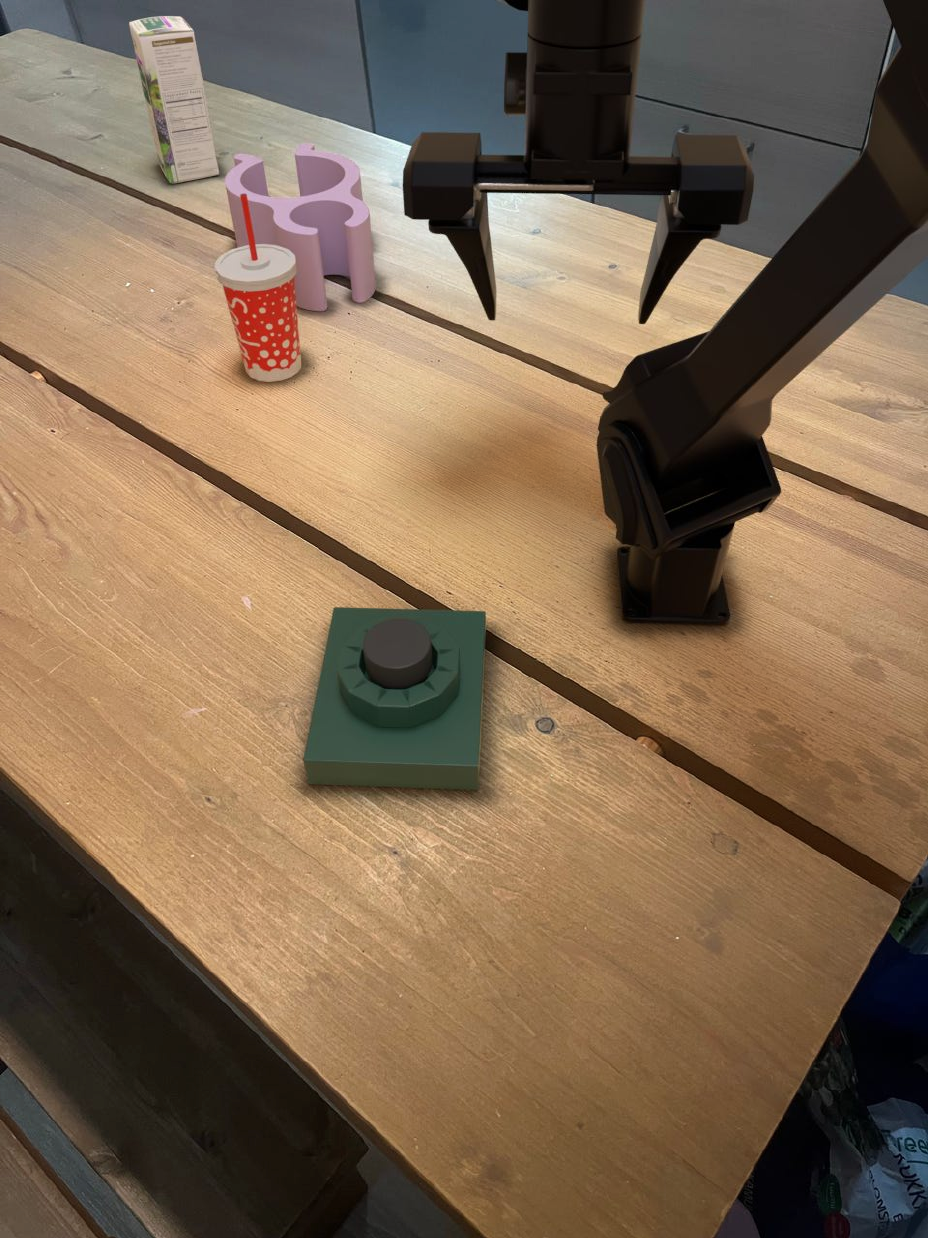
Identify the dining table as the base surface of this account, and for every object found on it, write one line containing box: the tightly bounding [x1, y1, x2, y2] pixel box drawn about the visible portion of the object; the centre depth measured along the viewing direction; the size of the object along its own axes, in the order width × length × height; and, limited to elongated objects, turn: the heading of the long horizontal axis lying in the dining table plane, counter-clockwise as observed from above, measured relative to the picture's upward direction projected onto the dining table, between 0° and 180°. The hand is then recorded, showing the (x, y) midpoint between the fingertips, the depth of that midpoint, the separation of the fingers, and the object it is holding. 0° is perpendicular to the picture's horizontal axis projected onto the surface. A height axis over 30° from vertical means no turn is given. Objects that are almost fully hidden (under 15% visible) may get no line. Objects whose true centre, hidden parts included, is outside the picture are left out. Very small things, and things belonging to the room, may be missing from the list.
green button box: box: [302, 606, 487, 791], centre depth 52 cm, size 11×9×4 cm
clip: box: [224, 142, 377, 312], centre depth 89 cm, size 20×12×7 cm, turn 23°
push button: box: [363, 618, 432, 689], centre depth 51 cm, size 4×4×2 cm
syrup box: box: [128, 15, 221, 184], centre depth 102 cm, size 6×6×14 cm
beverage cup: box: [214, 194, 302, 383], centre depth 74 cm, size 6×6×14 cm
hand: (566, 319), depth 59 cm, fingers open, 9 cm apart
